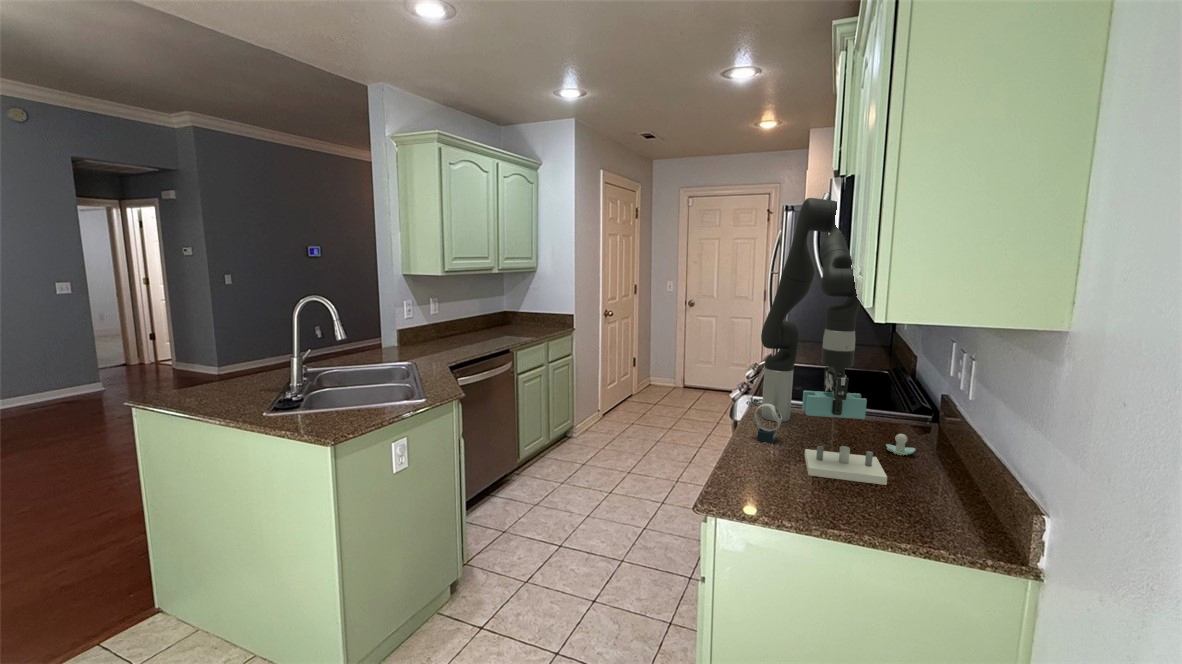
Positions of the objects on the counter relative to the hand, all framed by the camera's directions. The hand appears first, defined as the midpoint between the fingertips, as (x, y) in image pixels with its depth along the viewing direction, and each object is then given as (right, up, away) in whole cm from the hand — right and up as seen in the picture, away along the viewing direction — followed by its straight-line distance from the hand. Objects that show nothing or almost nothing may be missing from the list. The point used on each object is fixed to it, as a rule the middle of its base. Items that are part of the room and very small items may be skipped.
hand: (833, 410), depth 143 cm
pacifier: (+25, -14, +14) cm, 33 cm away
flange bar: (0, -1, 0) cm, 1 cm away
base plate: (+3, -16, +2) cm, 16 cm away
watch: (-10, -12, +23) cm, 28 cm away
